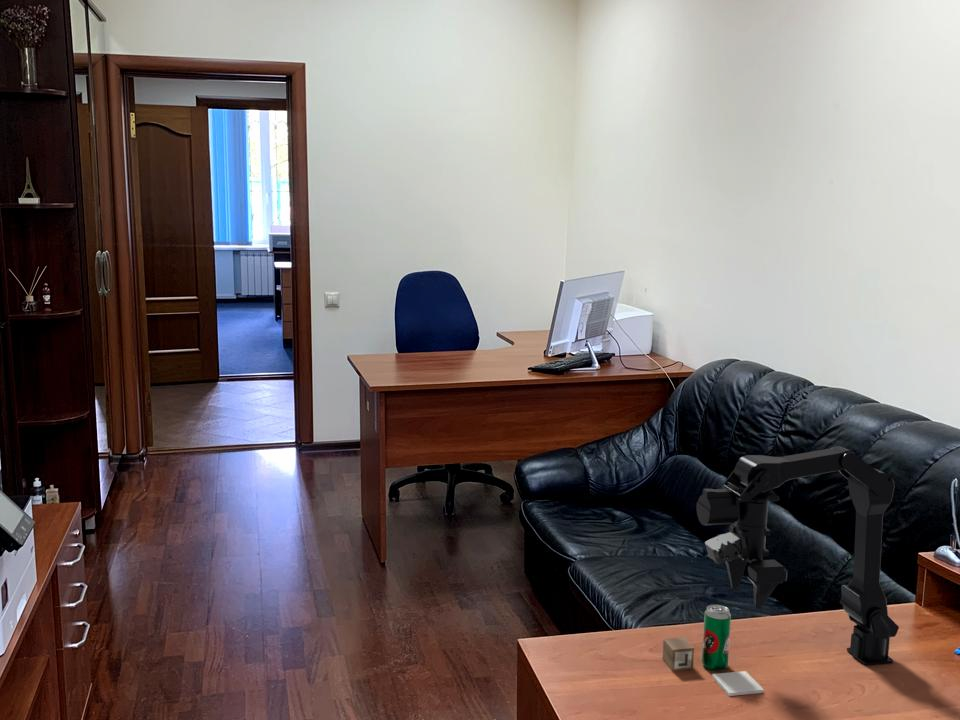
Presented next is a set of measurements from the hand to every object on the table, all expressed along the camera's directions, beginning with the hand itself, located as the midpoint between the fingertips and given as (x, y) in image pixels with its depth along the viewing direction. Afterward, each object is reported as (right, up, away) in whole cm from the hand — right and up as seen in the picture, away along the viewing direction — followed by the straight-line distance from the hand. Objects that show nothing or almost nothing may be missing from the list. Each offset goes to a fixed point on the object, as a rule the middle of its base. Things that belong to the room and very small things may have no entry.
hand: (745, 598), depth 171 cm
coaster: (-3, -15, -4) cm, 16 cm away
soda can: (-5, -14, +3) cm, 16 cm away
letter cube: (-12, -14, +4) cm, 19 cm away
